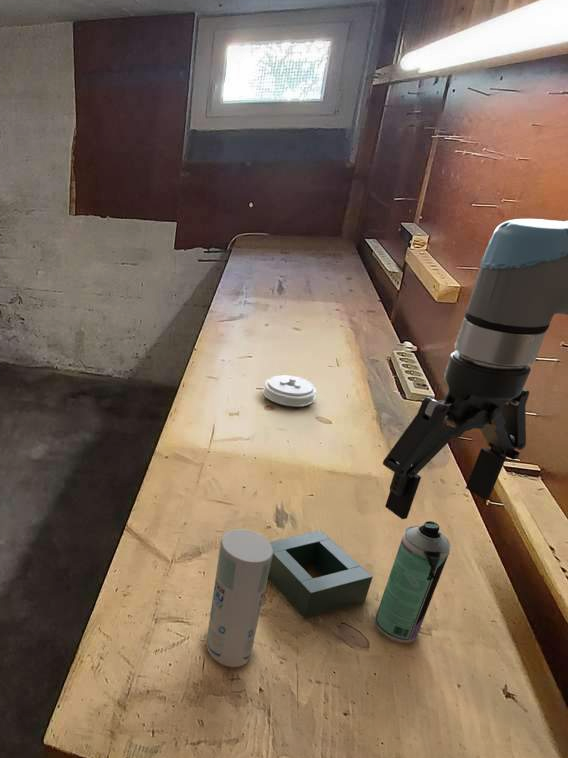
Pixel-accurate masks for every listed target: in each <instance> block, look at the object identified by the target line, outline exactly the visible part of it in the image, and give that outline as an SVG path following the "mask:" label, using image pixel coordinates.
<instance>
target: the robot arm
mask: <svg viewBox="0 0 568 758" xmlns="http://www.w3.org/2000/svg"><path fill="white" fill-rule="evenodd" d="M479 264H480V265H479V268H478V272H477V275H476V278H475V282H474V284H473V288H472V292H471V295H470V298H469V301H468V304H467V308H466V311H465V313H464V317H463V320H462V323H461V326H460V328H459V331H458V334H457V337H456V340H455V342H454V349H455V350H454V351H453V352H451V354H450V356H449V358H448V363H447V365H446V368H445V370H444V374H443V380H444V382H445V384H446V386H447V387H448V391H447V393H446V394H445V396H444V397H443V398H442V400H440V399H439V400H436V399H434V398H433V397H430V396H426V397H425V398H423V399H422V402H421V405H419V409H418V412H417V414H416V415H415V416H414V418H413V419H412V421H411V422H410V423H409V424H408V425H407V427H406V429H405V430H404V431H403V433H402V434H401V435H400V437H399V438H398V440H397V441H396V443H395V444H394V446H393V447H392V449H391V450H390V451H389V452H388V453H387V455H386V457H385V458H384V459H383V461H382V465H383V466H384V467H386V468H387V469H388V470H390V471H391V472H392V473H393V476H392V479H391V482H390V484H389V493H388V496H387V499H386V502H385V506H384V507H385V508H386V509H387V510H388V511H390V512H391V513H393V514H394V515H395V516H397V517H398V518H399V519H401V520H406V519H408V517H409V513H410V511H411V508H412V505H413V502H414V499H415V497H416V494H417V490H418V489H419V485H420V482H421V479H422V476H421V475H419V473H420V472H421V471H422V470H423V469H424V467H426V465H428V464H429V463H430V461H432V460H433V459H434V458H435V457H436V456H437V455H438V454H439V453H440V452H441V451H442V450H443V448H445V446H447V444H448V443H449V442H451V440H453V439H458V438H460V437H461V436H462V435H463V434H465V432H468V431H471V430H474V429H477V430H479V429H480V432H481V434H482V436H483V439H484V440H485V443H486V445H487V447H482V448H480V451H479V452H478V455H477V458H476V460H475V463H474V466H473V468H472V471H471V473H470V476H469V478H468V480H467V484H466V486H465V489H466V490H468V491H469V492H471V493H473V494H474V495H476V496H478V497H479V498H481V499H482V500H484V501H486V500H489V499H490V497H491V495H492V493H493V490H494V487H495V486H496V483H497V481H498V479H499V476H500V474H501V471H502V470H503V466H504V464H505V462H506V459H507V458H508V459H511V460H517V458H519V456H520V454H521V453H520V452H519V451H521V450H524V449H525V447H526V446H527V424H526V423H527V422H526V421H527V420H526V419H527V418H526V417H527V416H526V405H527V401H528V398H529V396H530V391H529V390H527V389H526V388H525V385H526V383H527V380H528V378H529V376H530V374H531V367H530V365H532V364H534V363H535V361H536V360H537V357H538V354H539V352H540V349H541V346H542V344H543V341H544V339H545V336H546V333H547V331H548V330H549V327H550V325H551V321H552V320H553V317H554V316H555V315H556V314H558V315H559V314H560V315H566V316H568V220H564V221H563V220H557V219H556V220H554V219H545V218H515V219H509V220H506V221H504V222H501V223H500V224H499V225H498V226H497V227H496V228H495V229H494V231H493V233H492V235H491V237H490V239H489V242H488V244H487V247H486V249H485V252H484V254H483V257H482V258H481V260H480V262H479ZM444 421H445V422H446V423H445V422H444ZM516 449H517V450H519V451H517V450H516Z"/></svg>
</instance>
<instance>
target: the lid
mask: <svg viewBox="0 0 568 758" xmlns="http://www.w3.org/2000/svg"><path fill="white" fill-rule="evenodd" d="M264 387H265V388H264V389H263V395H264V396H265V398H267V399H268V400H270V401H272V402H274V403H276V404H278V405H279V404H280V405H282V406H287V407H288V406H289V407H305V406H309V405H311V404H312V403H314V402H315V399H316V397H315V395H316V393H317V387H316V386H315V385H314V384H313V383H311V382H310V381H309V380H307V379H304V378H302V377H299V376H295V375H286V374H285V375H284V374H282V375H275V376H272V377H270V378H268V379H266V380H265V382H264Z"/></svg>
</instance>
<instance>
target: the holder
mask: <svg viewBox="0 0 568 758" xmlns="http://www.w3.org/2000/svg"><path fill="white" fill-rule="evenodd" d="M269 542H270V544H271V546H272V548H273V556H272V561H271V565H270V570H269V574H268V580H269V581H270V582H271V583H272V585H274V586H275V588H276V589H277V590H278V592H280V593H281V595H282V596H283V597H285V599H286V600H287V601H288V603H290V604H291V606H292V607H293V608H294V609H295V610H296V611H297V612H298V614H299V615H300V616H301V617H302V618H303V620H304V619H308V618H313V617H315V616H319V615H322V614H327V613H330V612H335V611H337V610H341V609H345V608H348V607H351V606H355V605H358V604H363V603H365V602H366V600H367V596H368V593H369V590H370V587H371V584H372V581H373V578H374V576H373V575H371V573H370V572H368V570H367V569H365V567H363V566H362V565H361V564H360V563H359V562H357V561H356V560H355V559H354V558H353V557H352V556H351V555H350V554H348V553H347V552H346V551H345V550H344V549H343V548H341V546H339V545H338V544H337V543H336V542H335V541H334V540H333V539H332V538H330V537H329V536H328V535H327V534H326V533H325V532H324V531H323V530H321V529H319V530H315V531H310V532H306V533H301V534H298V535H293V536H290V537H285V538H281V539H277V540H272V541H269ZM310 567H313V568H314V569H315V571H317V572H318V573H319V574H320V575H321V576H318V577H317V576H316V577H314V578H313V577H312V576H311V575H310V574H309V572H307V570H305V569H306V568H310Z"/></svg>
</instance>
